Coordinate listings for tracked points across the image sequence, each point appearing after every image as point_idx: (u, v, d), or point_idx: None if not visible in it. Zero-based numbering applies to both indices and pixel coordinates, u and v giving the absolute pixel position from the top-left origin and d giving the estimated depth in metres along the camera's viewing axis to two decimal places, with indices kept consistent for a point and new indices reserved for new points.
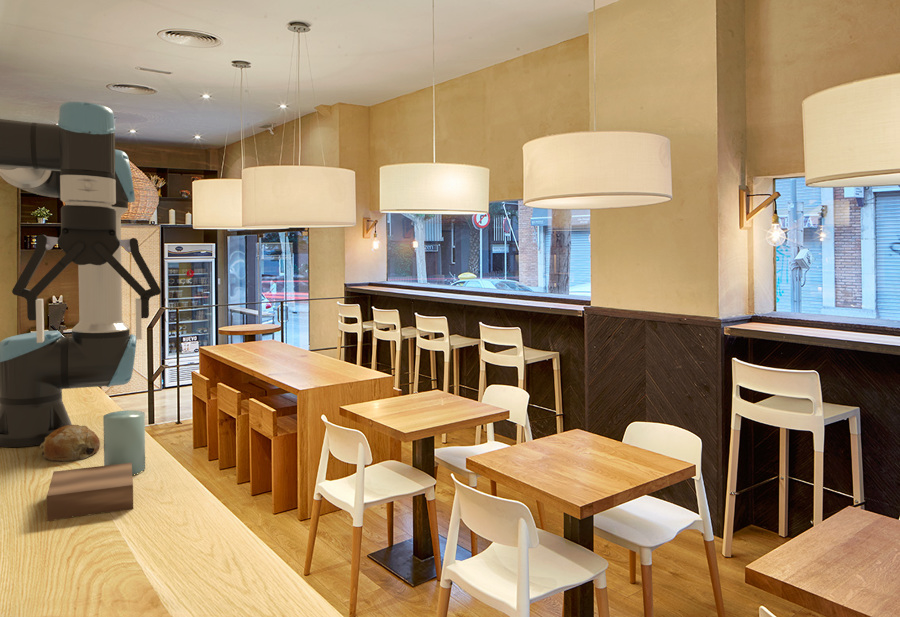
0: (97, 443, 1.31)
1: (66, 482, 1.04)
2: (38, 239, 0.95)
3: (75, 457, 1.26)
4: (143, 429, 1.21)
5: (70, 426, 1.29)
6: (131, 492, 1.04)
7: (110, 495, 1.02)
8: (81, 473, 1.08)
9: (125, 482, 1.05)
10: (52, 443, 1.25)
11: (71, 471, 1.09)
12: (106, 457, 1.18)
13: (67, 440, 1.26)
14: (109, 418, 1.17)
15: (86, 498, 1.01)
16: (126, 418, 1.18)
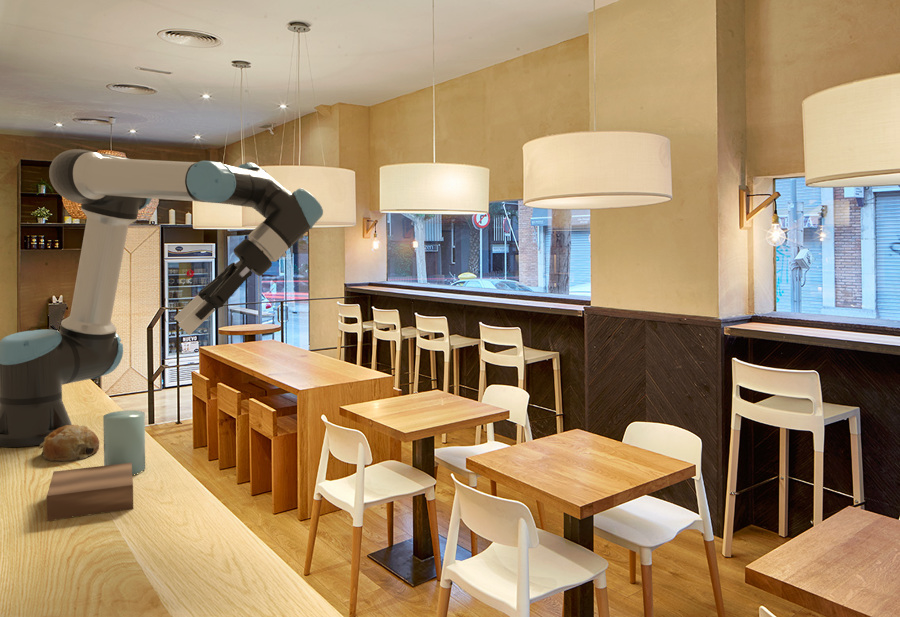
0: (97, 443, 1.31)
1: (66, 482, 1.04)
2: (250, 275, 1.22)
3: (75, 457, 1.26)
4: (143, 429, 1.21)
5: (69, 426, 1.29)
6: (131, 492, 1.04)
7: (110, 495, 1.02)
8: (81, 473, 1.08)
9: (125, 482, 1.05)
10: (52, 443, 1.25)
11: (71, 471, 1.09)
12: (106, 457, 1.18)
13: (66, 440, 1.26)
14: (109, 418, 1.17)
15: (86, 498, 1.01)
16: (126, 418, 1.18)
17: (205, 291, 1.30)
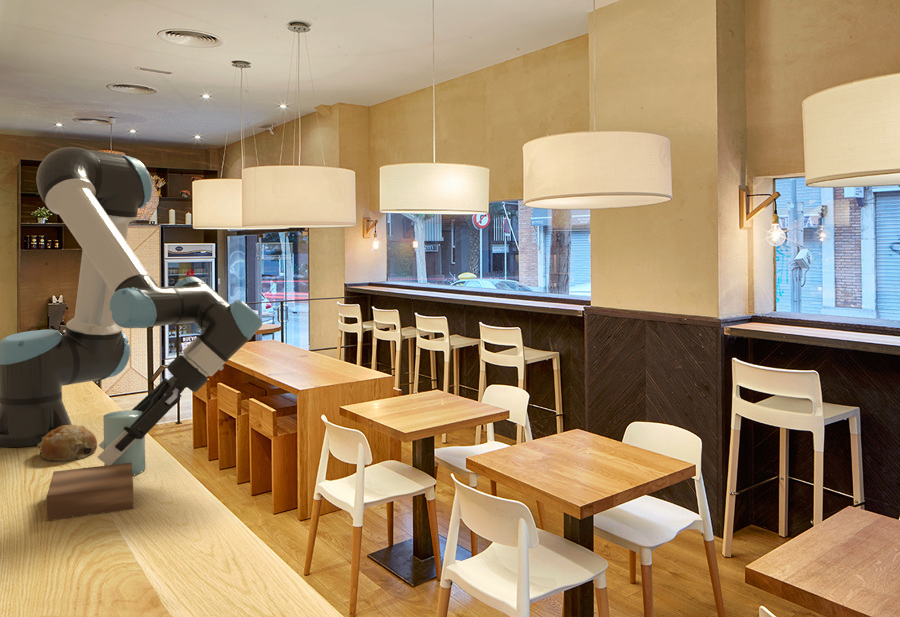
0: (95, 443, 1.31)
1: (66, 482, 1.04)
2: (177, 402, 1.18)
3: (72, 457, 1.26)
4: None
5: (67, 426, 1.29)
6: (131, 492, 1.04)
7: (110, 495, 1.02)
8: (81, 473, 1.08)
9: (125, 482, 1.05)
10: (49, 443, 1.25)
11: (71, 471, 1.09)
12: None
13: (64, 440, 1.26)
14: (109, 418, 1.17)
15: (86, 498, 1.01)
16: (126, 418, 1.18)
17: None
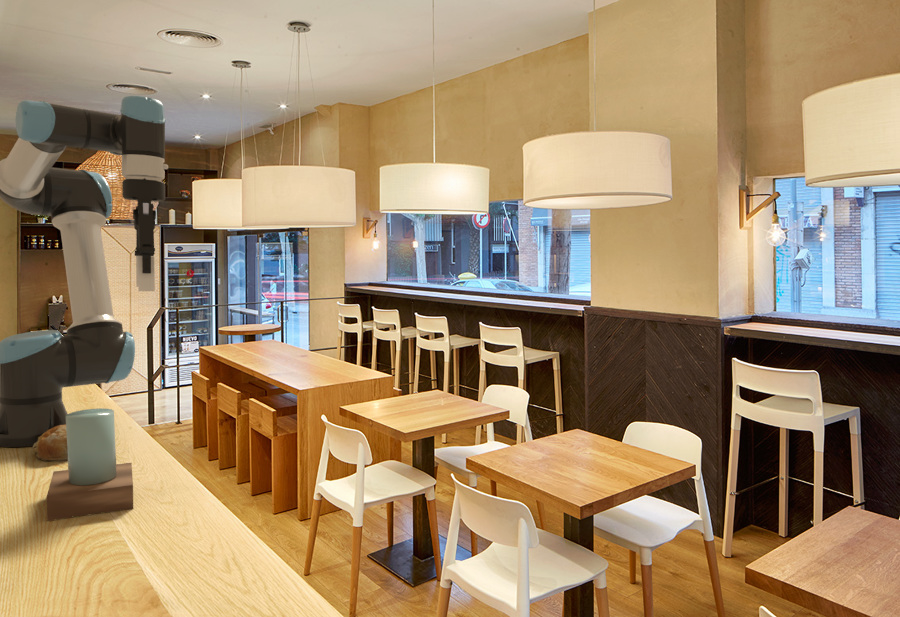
0: None
1: (66, 482, 1.04)
2: (153, 207, 1.18)
3: None
4: (112, 430, 1.06)
5: (63, 426, 1.29)
6: (131, 492, 1.04)
7: (110, 495, 1.02)
8: None
9: (125, 482, 1.05)
10: (45, 443, 1.25)
11: None
12: (69, 462, 1.03)
13: (60, 440, 1.26)
14: (71, 417, 1.02)
15: (86, 498, 1.01)
16: (91, 417, 1.03)
17: (138, 247, 1.29)
